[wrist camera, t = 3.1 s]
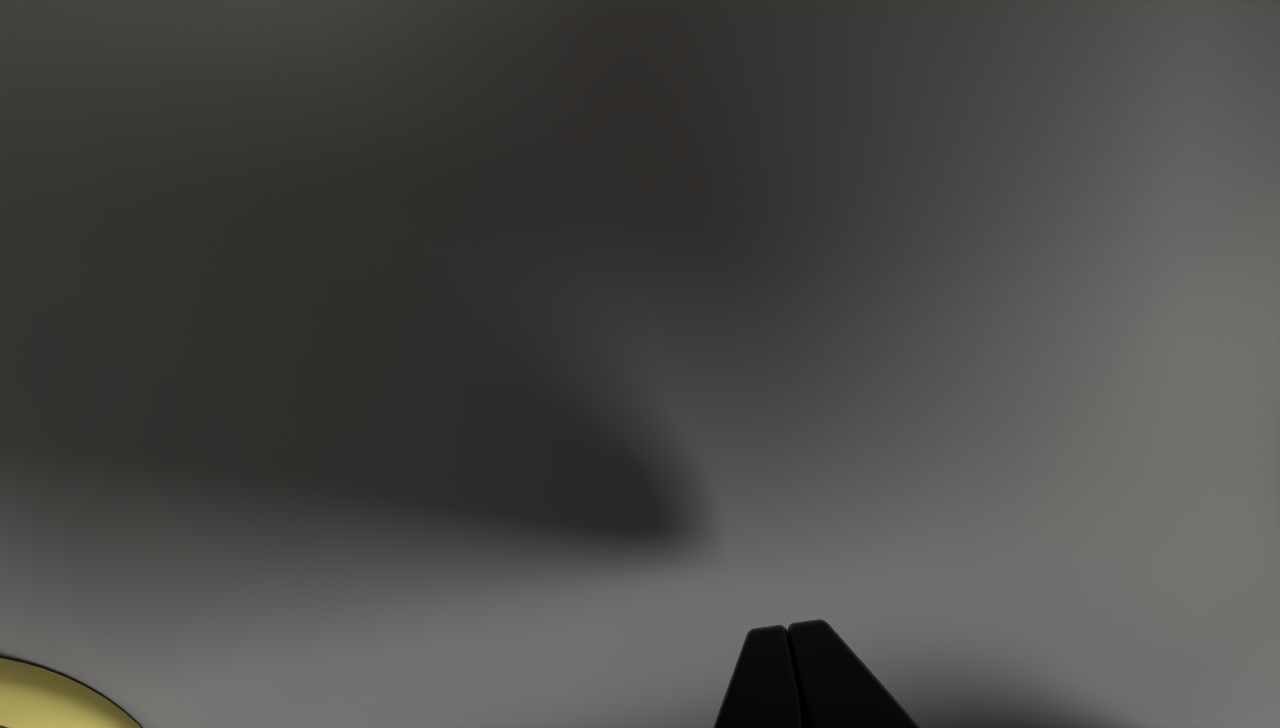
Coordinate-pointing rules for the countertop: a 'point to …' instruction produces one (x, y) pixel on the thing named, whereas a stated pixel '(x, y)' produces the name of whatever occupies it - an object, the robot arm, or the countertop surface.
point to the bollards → (52, 701)
